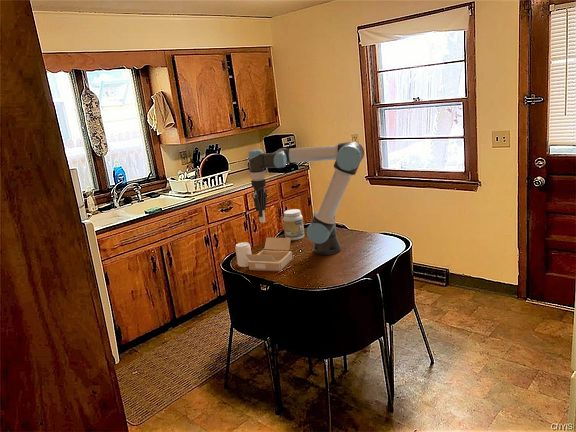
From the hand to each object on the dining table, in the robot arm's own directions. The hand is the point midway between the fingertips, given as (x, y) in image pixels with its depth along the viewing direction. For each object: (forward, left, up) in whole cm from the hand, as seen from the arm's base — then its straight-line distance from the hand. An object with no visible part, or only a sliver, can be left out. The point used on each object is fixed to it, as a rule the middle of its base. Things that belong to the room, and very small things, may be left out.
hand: (262, 221), depth 251 cm
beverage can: (+9, +9, -22) cm, 26 cm away
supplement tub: (-1, -37, -22) cm, 43 cm away
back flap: (-5, -4, -14) cm, 15 cm away
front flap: (-5, +17, -14) cm, 22 cm away
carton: (-5, +6, -22) cm, 23 cm away
